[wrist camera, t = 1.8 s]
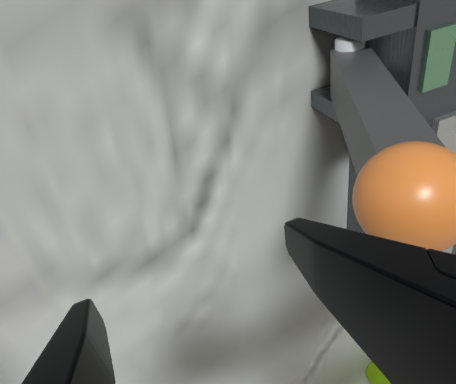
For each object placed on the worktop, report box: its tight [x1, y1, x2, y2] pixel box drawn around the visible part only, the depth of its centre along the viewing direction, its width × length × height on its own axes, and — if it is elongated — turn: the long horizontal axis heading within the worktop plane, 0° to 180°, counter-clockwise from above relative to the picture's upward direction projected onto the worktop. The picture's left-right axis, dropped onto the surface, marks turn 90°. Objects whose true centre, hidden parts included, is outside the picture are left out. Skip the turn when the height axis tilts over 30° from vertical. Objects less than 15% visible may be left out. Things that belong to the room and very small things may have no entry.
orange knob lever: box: [330, 36, 456, 251], centre depth 15 cm, size 3×3×13 cm
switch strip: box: [309, 0, 456, 254], centre depth 25 cm, size 10×22×5 cm, turn 9°
